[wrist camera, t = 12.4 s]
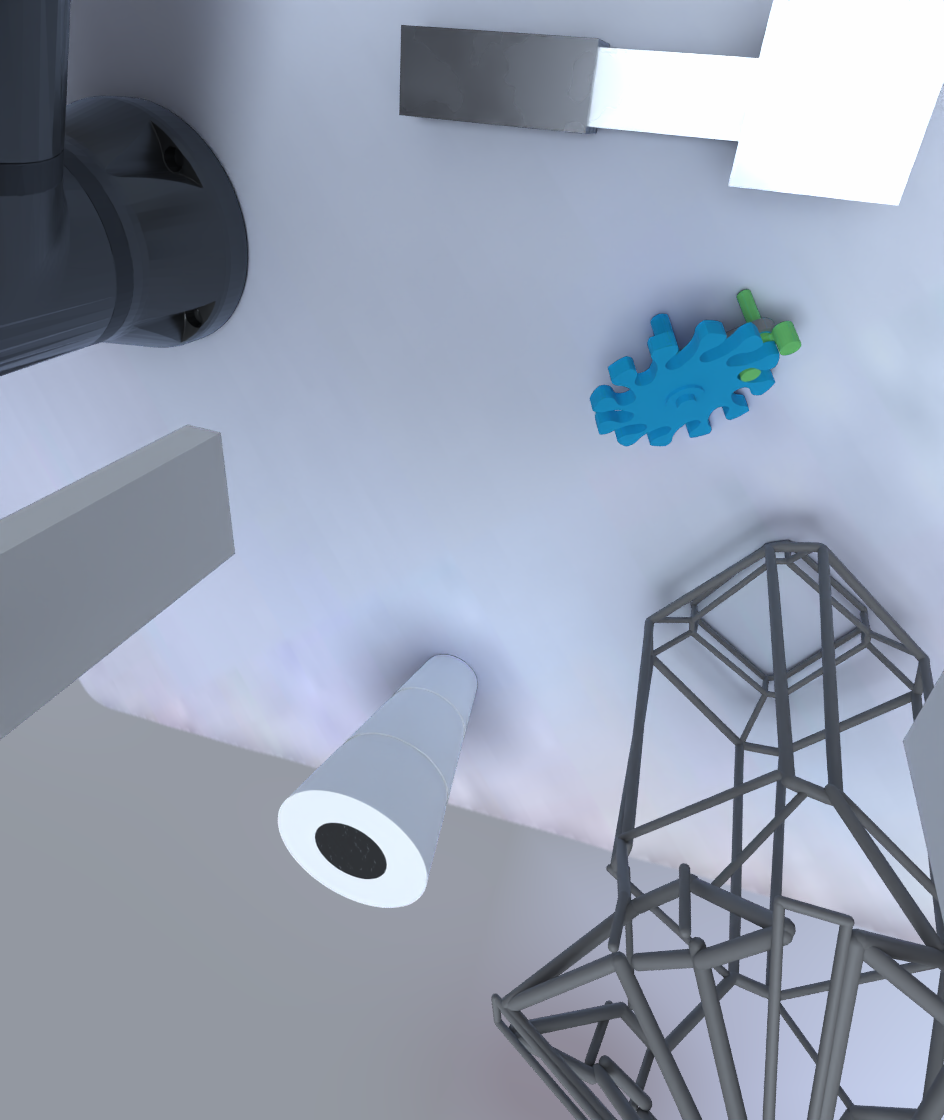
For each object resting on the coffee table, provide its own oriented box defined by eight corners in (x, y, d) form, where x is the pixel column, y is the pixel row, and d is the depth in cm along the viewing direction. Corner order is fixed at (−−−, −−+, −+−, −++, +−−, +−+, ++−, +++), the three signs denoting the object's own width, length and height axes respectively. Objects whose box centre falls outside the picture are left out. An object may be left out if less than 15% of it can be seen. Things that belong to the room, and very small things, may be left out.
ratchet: (419, 142, 40) (363, 144, 35) (424, 0, 37) (362, -24, 31) (867, 192, 35) (887, 204, 29) (922, 29, 31) (957, 6, 26)
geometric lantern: (967, 635, 44) (1333, 1556, 15) (753, 738, 53) (738, 1436, 25) (794, 456, 42) (851, 1126, 14) (604, 594, 51) (403, 1168, 23)
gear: (624, 474, 44) (569, 398, 36) (603, 395, 47) (546, 307, 38) (811, 405, 40) (798, 301, 32) (778, 322, 42) (757, 205, 34)
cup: (483, 616, 56) (383, 788, 41) (528, 721, 60) (452, 912, 45) (373, 633, 61) (250, 792, 46) (422, 729, 65) (323, 903, 50)
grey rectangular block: (735, 175, 34) (728, 186, 27) (774, 16, 30) (776, -14, 24) (872, 190, 32) (898, 205, 26) (928, 25, 29) (974, -5, 23)
